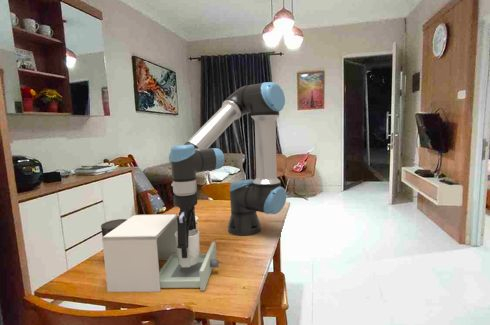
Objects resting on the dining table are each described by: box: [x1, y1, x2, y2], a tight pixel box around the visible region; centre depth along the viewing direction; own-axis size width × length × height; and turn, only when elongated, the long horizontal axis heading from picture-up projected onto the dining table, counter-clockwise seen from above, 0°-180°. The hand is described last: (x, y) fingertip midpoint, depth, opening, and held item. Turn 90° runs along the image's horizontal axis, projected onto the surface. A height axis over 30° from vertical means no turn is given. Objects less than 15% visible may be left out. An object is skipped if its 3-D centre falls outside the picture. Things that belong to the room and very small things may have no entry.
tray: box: [159, 241, 219, 291], centre depth 101 cm, size 19×23×6 cm
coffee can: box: [100, 218, 129, 238], centre depth 113 cm, size 10×10×14 cm
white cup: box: [175, 228, 200, 266], centre depth 100 cm, size 8×8×10 cm
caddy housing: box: [101, 213, 178, 293], centre depth 101 cm, size 16×23×17 cm
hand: (189, 260), depth 101 cm, fingers closed on white cup, 8 cm apart
